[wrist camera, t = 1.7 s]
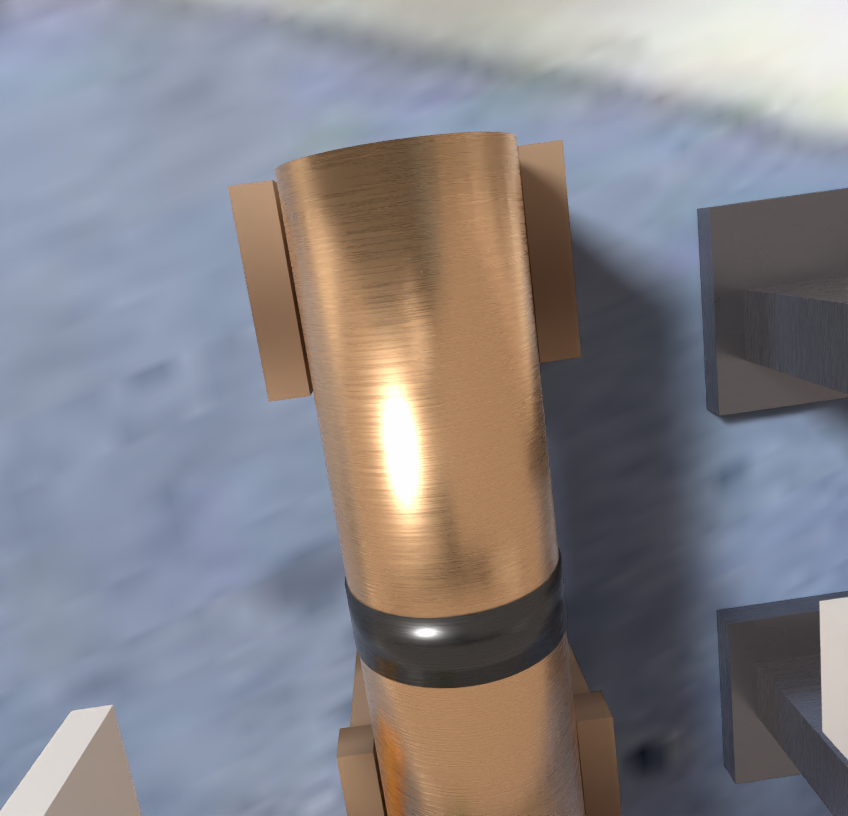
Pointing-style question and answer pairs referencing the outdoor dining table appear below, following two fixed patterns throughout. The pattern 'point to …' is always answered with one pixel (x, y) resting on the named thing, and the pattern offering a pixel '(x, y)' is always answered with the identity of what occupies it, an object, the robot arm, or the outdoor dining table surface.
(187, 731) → the outdoor dining table surface
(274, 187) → the walnut rest
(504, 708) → the tube
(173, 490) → the outdoor dining table surface
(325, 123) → the outdoor dining table surface
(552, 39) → the outdoor dining table surface
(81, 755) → the robot arm
